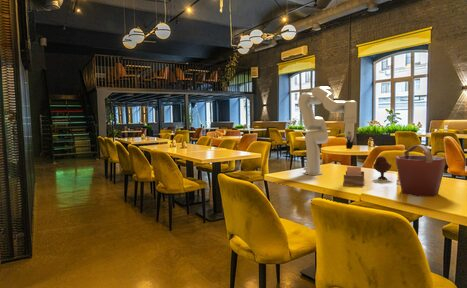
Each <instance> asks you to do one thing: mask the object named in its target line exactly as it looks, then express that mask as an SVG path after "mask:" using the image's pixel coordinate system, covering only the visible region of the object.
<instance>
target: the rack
mask: <svg viewBox="0 0 467 288" xmlns="http://www.w3.org/2000/svg"><path fill="white" fill-rule="evenodd" d="M365 184H366V179H365V171H363V170H361V175H347V170H346V171H345V174H343V183H342V185H343V186H359V187H365Z"/></svg>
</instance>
